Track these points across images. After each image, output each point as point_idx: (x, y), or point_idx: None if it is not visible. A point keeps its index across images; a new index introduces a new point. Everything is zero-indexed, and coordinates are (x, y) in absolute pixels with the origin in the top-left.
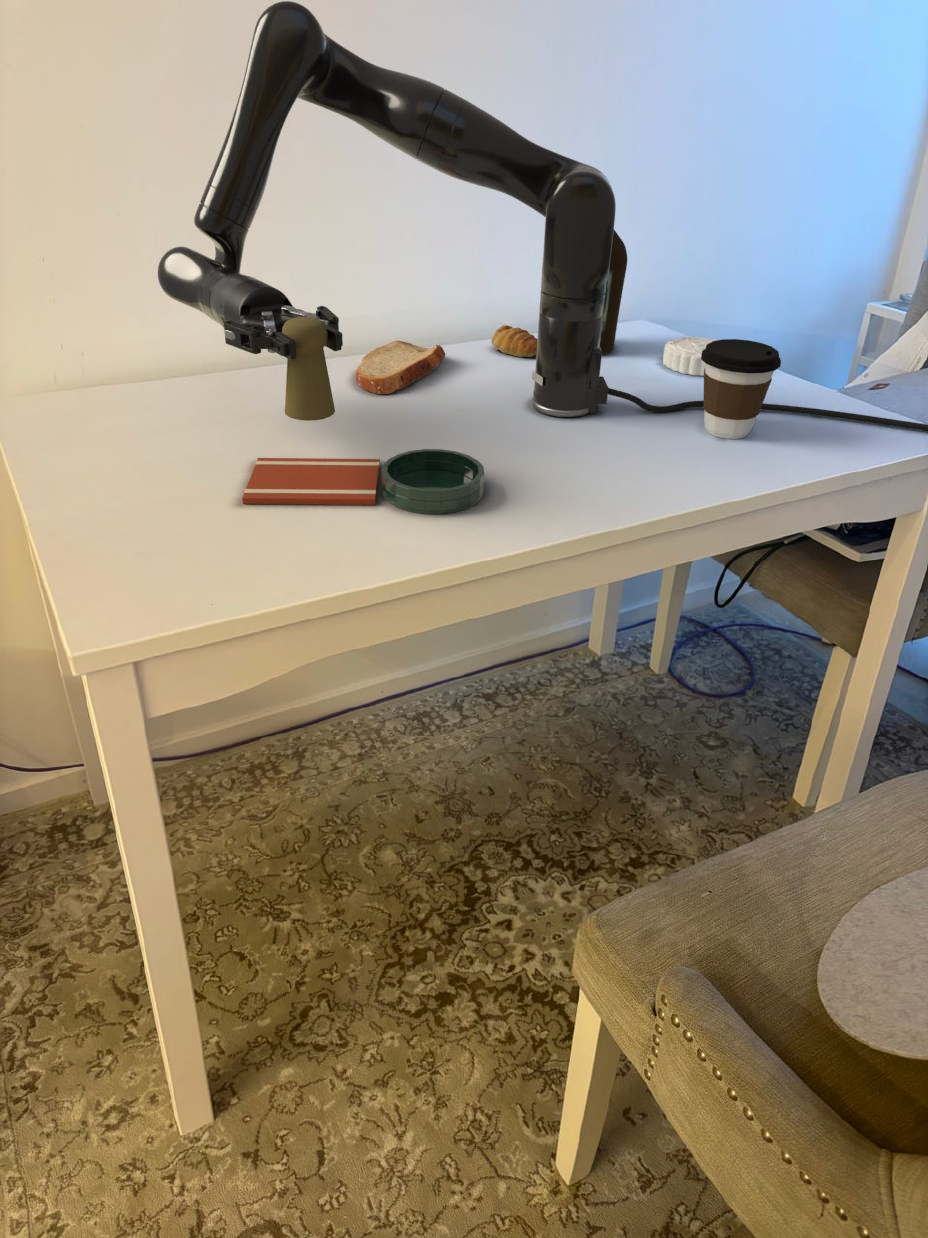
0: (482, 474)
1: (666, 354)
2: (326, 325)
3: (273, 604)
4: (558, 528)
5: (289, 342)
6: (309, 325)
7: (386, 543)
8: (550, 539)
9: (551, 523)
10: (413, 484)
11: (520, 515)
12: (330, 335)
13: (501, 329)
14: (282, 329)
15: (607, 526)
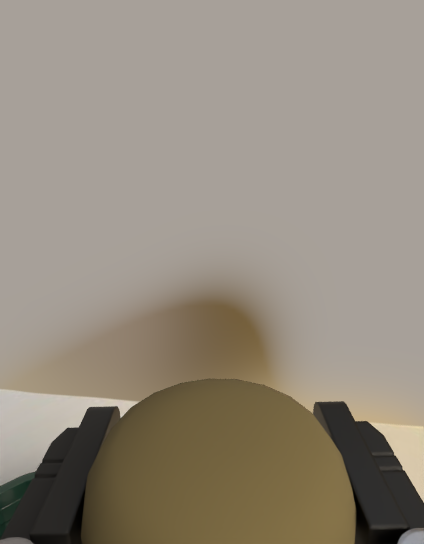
0: (2, 486)
1: None
2: (46, 508)
3: (406, 431)
4: (43, 411)
5: (341, 401)
6: (225, 382)
7: None
8: (73, 401)
9: (36, 421)
10: None
11: (38, 449)
12: None
13: None
14: (351, 521)
15: (7, 394)
